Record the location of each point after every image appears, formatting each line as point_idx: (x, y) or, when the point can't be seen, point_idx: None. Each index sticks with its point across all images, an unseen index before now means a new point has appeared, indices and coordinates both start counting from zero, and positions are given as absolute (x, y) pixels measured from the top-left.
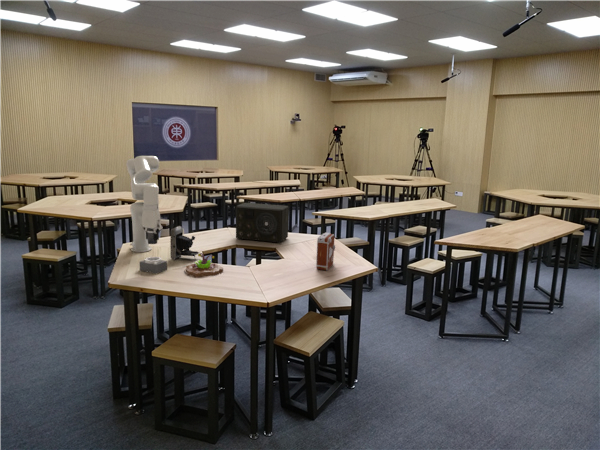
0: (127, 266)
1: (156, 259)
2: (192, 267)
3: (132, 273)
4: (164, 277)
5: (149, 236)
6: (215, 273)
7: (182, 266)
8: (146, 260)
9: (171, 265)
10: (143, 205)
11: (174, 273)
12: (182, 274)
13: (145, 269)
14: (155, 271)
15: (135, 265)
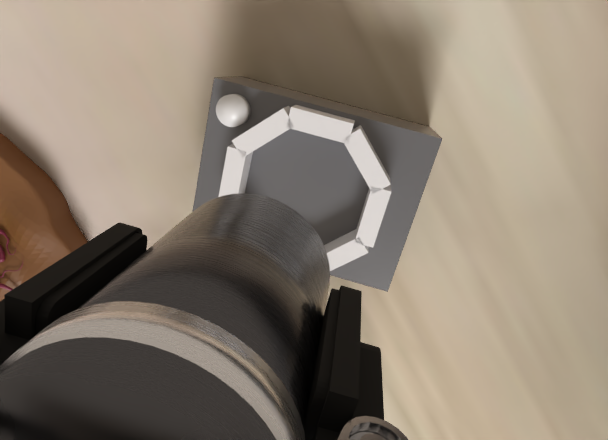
0: (600, 198)
1: None
2: (4, 228)
3: (450, 14)
4: (119, 6)
5: (202, 254)
6: None
7: None
8: (338, 119)
9: None
10: None
11: (111, 132)
12: (44, 128)
13: (358, 109)
14: (237, 77)
15: (535, 242)
